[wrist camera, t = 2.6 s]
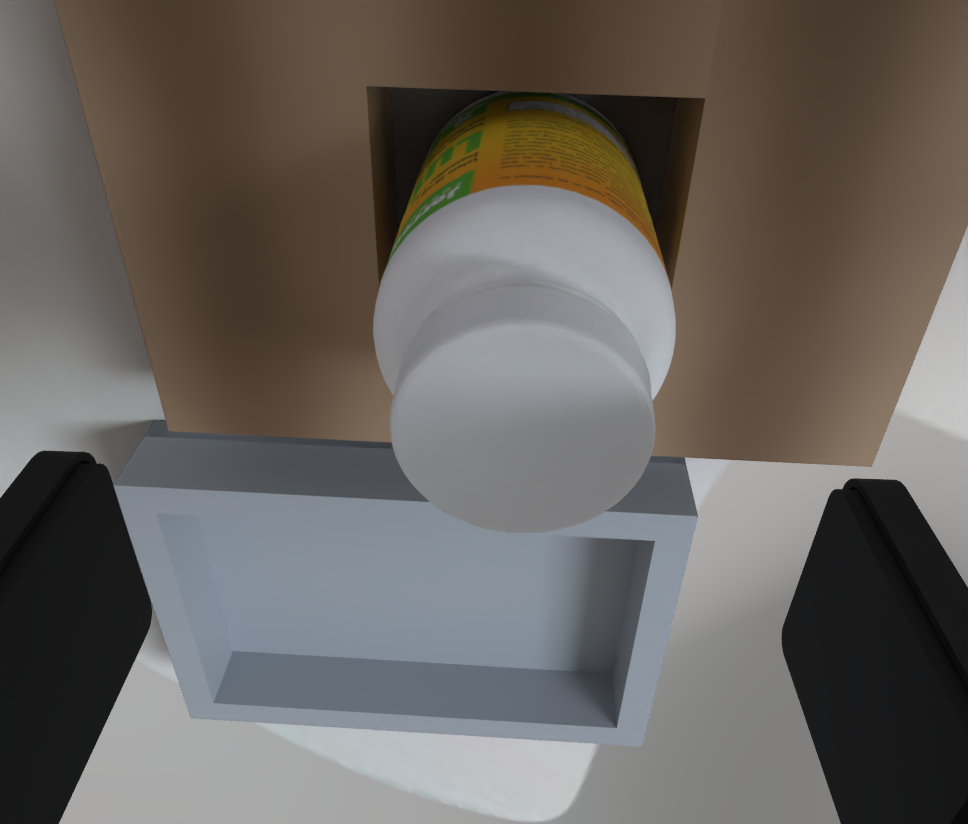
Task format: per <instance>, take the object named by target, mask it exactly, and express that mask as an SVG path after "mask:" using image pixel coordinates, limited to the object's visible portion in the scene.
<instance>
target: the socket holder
mask: <svg viewBox="0 0 968 824" xmlns="http://www.w3.org/2000/svg"><path fill="white" fill-rule="evenodd" d="M54 3H55V6H56V10H57V14H58V18H59V21H60V25H61V29H62V33H63V36H64V40H65V44H66V48H67V51H68V55H69V59H70V63H71V66H72V70H73V74H74V78H75V81H76V85H77V89H78V93H79V96H80V100H81V104H82V108H83V111H84V115H85V119H86V123H87V126H88V130H89V134H90V138H91V141H92V145H93V149H94V153H95V156H96V160H97V164H98V168H99V171H100V175H101V179H102V183H103V186H104V190H105V194H106V198H107V201H108V205H109V209H110V213H111V216H112V220H113V224H114V228H115V231H116V235H117V239H118V243H119V246H120V250H121V254H122V258H123V261H124V265H125V269H126V273H127V276H128V280H129V284H130V288H131V291H132V295H133V299H134V303H135V306H136V310H137V314H138V318H139V321H140V325H141V329H142V333H143V336H144V340H145V344H146V348H147V351H148V355H149V359H150V363H151V366H152V370H153V374H154V378H155V381H156V385H157V389H158V393H159V396H160V400H161V404H162V408H163V411H164V415H165V419H166V423H167V426H168V430H169V431H174V432H194V433H214V434H234V435H253V436H273V437H293V438H313V439H332V440H352V441H372V442H391V435H390V409H391V404H392V399H393V395H392V393H391V391H390V390H389V388H388V386H387V384H386V382H385V380H384V378H383V375H382V373H381V370H380V367H379V363H378V360H377V356H376V350H375V344H374V337H373V320H374V311H375V305H376V300H377V296H378V292H379V288H380V282H381V279H382V276H383V273H384V271H385V268H386V265H387V263H388V260H389V257H390V254H391V251H392V248H393V245H394V242H395V239H396V237H397V234H398V221H397V199H396V177H395V155H394V134H393V112H392V90H391V87H403V88H431V89H459V90H487V91H515V92H543V93H571V94H599V95H627V96H655V97H677V101H676V108H675V114H674V121H673V127H672V133H671V140H670V146H669V153H668V159H667V166H666V172H665V178H664V185H663V191H662V198H661V204H660V210H659V217H658V223H657V230H656V236H657V240H658V244H659V247H660V251H661V254H662V257H663V261H664V264H665V268H666V271H667V275H668V277H669V281H670V285H671V291H672V297H673V303H674V311H675V318H676V338H675V345H674V352H673V356H672V360H671V364H670V367H669V370H668V372H667V375H666V377H665V380H664V382H663V384H662V386H661V388H660V390H659V392H658V393H657V395H656V396H655V398H654V399H653V408H654V414H655V425H656V428H655V442H654V446H653V450H652V453H651V456H668V457H688V458H707V459H727V460H748V461H766V462H767V461H768V462H786V463H787V462H788V463H806V464H807V463H808V464H827V465H846V466H865V467H866V466H867V467H872V464H873V462H874V460H875V457H876V455H877V452H878V450H879V447H880V445H881V442H882V440H883V437H884V435H885V432H886V429H887V427H888V424H889V422H890V419H891V417H892V414H893V412H894V409H895V407H896V404H897V402H898V399H899V397H900V394H901V392H902V389H903V387H904V384H905V382H906V379H907V377H908V374H909V372H910V369H911V367H912V364H913V362H914V359H915V357H916V354H917V352H918V349H919V346H920V344H921V341H922V339H923V336H924V334H925V331H926V329H927V326H928V324H929V321H930V319H931V316H932V314H933V311H934V309H935V306H936V304H937V301H938V299H939V296H940V294H941V291H942V289H943V286H944V284H945V281H946V279H947V276H948V274H949V271H950V268H951V266H952V263H953V261H954V258H955V256H956V253H957V251H958V248H959V246H960V243H961V241H962V238H963V236H964V233H965V231H966V228H967V226H968V0H54Z"/></svg>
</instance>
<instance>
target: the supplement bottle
mask: <svg viewBox="0 0 968 824" xmlns="http://www.w3.org/2000/svg"><path fill="white" fill-rule="evenodd" d="M373 337H374V344H375V350H376V356H377V360H378V363H379V367H380V370H381V373H382V375H383V378H384V380H385V382H386V384H387V386H388V388H389V390H390V391H391V393H392V395H393V399H392V404H391V409H390V435H391V442H392V446H393V450H394V453H395V456H396V458H397V461H398V463H399V465H400V467H401V469H402V471H403V472H404V474H405V475H406V477H407V478H408V479H409V481H410V482H411V484H412V485H413V486H414V487H415V488H416V489H417V490H418V491H419V492H420V493H421V494H422V495H423V496H424V497H425V498H426V499H427V500H428V501H430V502H431V503H432V504H433V505H435V506H436V507H437V508H439V509H440V510H442V511H443V512H445V513H447V514H449V515H451V516H453V517H454V518H457V519H459V520H461V521H464V522H466V523H469V524H472V525H475V526H477V527H481V528H485V529H489V530H494V531H500V532H508V533H540V532H551V531H556V530H561V529H565V528H568V527H571V526H574V525H578V524H581V523H583V522H586V521H588V520H590V519H592V518H594V517H596V516H598V515H600V514H602V513H603V512H605V511H606V510H608V509H610V508H611V507H613V506H614V505H615V504H617V503H618V502H619V501H620V500H621V499H622V498H623V497H625V496H626V495H627V494H628V493H629V491H630V490H631V489H632V488H633V487H634V486H635V485H636V483H637V482H638V480H639V479H640V477H641V476H642V474H643V473H644V470H645V468H646V466H647V464H648V462H649V460H650V457H651V453H652V450H653V446H654V442H655V428H656V425H655V414H654V408H653V399H654V398H655V396H656V395H657V393H658V392H659V390H660V388H661V386H662V384H663V382H664V380H665V377H666V375H667V372H668V370H669V367H670V364H671V360H672V356H673V352H674V345H675V338H676V318H675V311H674V303H673V297H672V291H671V285H670V281H669V277H668V275H667V271H666V268H665V264H664V261H663V257H662V254H661V251H660V247H659V244H658V240H657V236H656V233H655V230H654V227H653V224H652V219H651V216H650V214H649V210H648V207H647V203H646V199H645V196H644V193H643V189H642V185H641V181H640V177H639V174H638V170H637V167H636V164H635V162H634V159H633V156H632V154H631V152H630V150H629V148H628V146H627V144H626V142H625V140H624V139H623V137H622V136H621V134H620V133H619V132H618V130H617V129H616V128H615V127H614V125H613V124H612V123H611V122H610V121H609V120H608V119H607V118H606V117H604V116H603V115H602V114H601V113H600V112H599V111H597V110H596V109H595V108H593V107H592V106H590V105H588V104H587V103H585V102H583V101H581V100H580V99H578V98H575V97H573V96H571V95H568V94H565V93H543V92H515V91H501V92H498V93H494V94H491V95H489V96H486V97H484V98H482V99H480V100H478V101H476V102H474V103H472V104H470V105H469V106H467V107H466V108H464V109H463V110H462V111H460V112H459V113H458V114H457V115H456V116H454V117H453V118H452V119H451V120H450V121H449V122H448V123H447V124H446V125H445V126H444V128H443V129H442V130H441V131H440V133H439V134H438V135H437V137H436V138H435V140H434V141H433V143H432V145H431V147H430V149H429V151H428V153H427V155H426V157H425V159H424V161H423V164H422V166H421V169H420V171H419V174H418V177H417V180H416V183H415V186H414V189H413V191H412V194H411V197H410V200H409V203H408V205H407V208H406V211H405V213H404V216H403V219H402V221H401V224H400V228H399V231H398V234H397V237H396V239H395V242H394V245H393V248H392V251H391V254H390V257H389V260H388V263H387V265H386V268H385V271H384V273H383V276H382V279H381V282H380V288H379V292H378V296H377V300H376V305H375V311H374V320H373Z"/></svg>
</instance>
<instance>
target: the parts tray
mask: <svg viewBox="0 0 968 824" xmlns="http://www.w3.org/2000/svg"><path fill="white" fill-rule="evenodd" d="M113 486H114V489H115V492H116V495H117V498H118V501H119V504H120V508H121V511H122V514H123V517H124V520H125V523H126V526H127V529H128V533H129V536H130V539H131V542H132V545H133V548H134V551H135V554H136V557H137V559H138V562H139V565H140V568H141V571H142V574H143V577H144V580H145V583H146V586H147V589H148V592H149V595H150V598H151V601H152V604H153V607H154V610H155V613H156V616H157V619H158V622H159V625H160V628H161V631H162V634H163V637H164V640H165V643H166V646H167V649H168V652H169V655H170V658H171V661H172V664H173V667H174V670H175V673H176V676H177V679H178V682H179V685H180V687H181V691H182V693H183V696H184V700H185V703H186V706H187V709H188V712H189V714H190V717H191V718H197V719H212V720H228V721H244V722H260V723H276V724H291V725H307V726H323V727H339V728H355V729H371V730H387V731H403V732H419V733H435V734H451V735H467V736H483V737H499V738H515V739H531V740H546V741H562V742H578V743H594V744H611V745H626V746H642V745H643V741H644V736H645V732H646V728H647V724H648V720H649V716H650V712H651V708H652V703H653V699H654V695H655V691H656V687H657V683H658V678H659V675H660V670H661V666H662V662H663V658H664V654H665V650H666V645H667V642H668V637H669V633H670V629H671V625H672V621H673V617H674V612H675V608H676V604H677V600H678V596H679V592H680V588H681V584H682V580H683V576H684V571H685V567H686V563H687V559H688V555H689V551H690V547H691V542H692V539H693V534H694V530H695V526H696V522H697V518H698V515H697V510H696V506H695V502H694V497H693V493H692V489H691V484H690V480H689V476H688V471H687V467H686V463H685V458H684V457H668V456H651V457H650V460H649V462H648V464H647V466H646V468H645V470H644V473H643V474H642V476H641V477H640V479H639V480H638V482H637V483H636V485H635V486H634V487H633V488H632V489H631V490H630V491H629V493H628V494H627V495H626V496H625V497H623V498H622V499H621V500H620V501H619V502H618V503H617V504H615V505H614V506H613V507H611V508H610V509H608V510H606V511H605V512H603V513H602V514H600V515H598V516H596V517H594V518H592V519H590V520H588V521H586V522H583V523H581V524H578V525H574V526H571V527H568V528H565V529H561V530H556V531H551V532H540V533H508V532H500V531H494V530H489V529H485V528H481V527H477V526H475V525H472V524H469V523H466V522H464V521H461V520H459V519H457V518H454V517H453V516H451V515H449V514H447V513H445V512H443V511H442V510H440V509H439V508H437V507H436V506H435V505H433V504H432V503H431V502H430V501H428V500H427V499H426V498H425V497H424V496H423V495H422V494H421V493H420V492H419V491H418V490H417V489H416V488H415V487H414V486H413V485H412V484H411V482H410V481H409V479H408V478H407V477H406V475H405V474H404V472H403V471H402V469H401V467H400V465H399V463H398V461H397V458H396V456H395V453H394V450H393V446H392V442H372V441H352V440H332V439H313V438H293V437H273V436H253V435H234V434H214V433H194V432H174V431H169V430H168V426H167V423H166V421H157V420H155V421H154V422H153V424H152V426H151V427H150V429H149V430H148V432H147V433H146V435H145V436H144V438H143V439H142V441H141V442H140V444H139V446H138V447H137V449H136V450H135V452H134V453H133V455H132V456H131V458H130V459H129V461H128V462H127V464H126V465H125V467H124V469H123V470H122V472H121V473H120V475H119V476H118V478H117V479H116V481H115V482H114V484H113Z"/></svg>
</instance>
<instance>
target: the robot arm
mask: <svg viewBox="0 0 968 824" xmlns="http://www.w3.org/2000/svg"><path fill="white" fill-rule="evenodd" d="M151 618H152V606H151V601H150V598H149V595H148V592H147V589H146V586H145V583H144V579H143V576H142V573H141V570H140V567H139V564H138V561H137V558H136V554H135V551H134V548H133V545H132V542H131V539H130V536H129V533H128V529H127V526H126V523H125V520H124V517H123V514H122V511H121V508H120V504H119V501H118V498H117V495H116V492H115V489H114V486H113V483H112V479H111V476H110V473H109V471H108V469H107V467H106V466H105V465H103V464H97V463H96V461H95V459H94V457H93V456H92V455H91V454H90V453H86V452H65V451H41V452H38V453H37V454H36V455H35V456H34V457H33V458H32V459H31V460H30V461H29V462H28V464H27V465H26V466H25V468H24V469H23V470H22V471H21V473H20V474H19V475H18V476H17V478H16V479H15V480H14V481H13V483H12V484H11V485H10V487H9V488H8V489H7V490H6V492H5V493H4V494H3V495H2V497H1V498H0V824H59V822H60V820H61V817H62V815H63V813H64V811H65V809H66V807H67V805H68V802H69V800H70V798H71V796H72V794H73V792H74V790H75V787H76V785H77V783H78V781H79V779H80V777H81V775H82V772H83V770H84V768H85V766H86V764H87V762H88V760H89V757H90V755H91V753H92V751H93V749H94V747H95V745H96V742H97V740H98V738H99V736H100V734H101V732H102V729H103V727H104V725H105V723H106V721H107V719H108V717H109V715H110V712H111V710H112V708H113V706H114V703H115V702H116V699H117V697H118V695H119V693H120V691H121V688H122V687H123V684H124V682H125V680H126V678H127V676H128V674H129V671H130V669H131V667H132V665H133V663H134V661H135V659H136V657H137V654H138V652H139V650H140V648H141V646H142V644H143V642H144V639H145V637H146V635H147V633H148V630H149V628H150V624H151ZM782 648H783V653H784V657H785V660H786V663H787V666H788V668H789V672H790V674H791V677H792V680H793V683H794V686H795V689H796V692H797V695H798V698H799V701H800V704H801V707H802V710H803V713H804V716H805V719H806V722H807V725H808V728H809V730H810V733H811V737H812V739H813V742H814V745H815V748H816V751H817V754H818V757H819V760H820V763H821V766H822V769H823V772H824V775H825V778H826V781H827V784H828V787H829V790H830V793H831V796H832V799H833V801H834V804H835V807H836V810H837V813H838V816H839V819H840V822H841V824H968V587H967V586H966V584H965V582H964V581H963V579H962V578H961V576H960V574H959V573H958V571H957V570H956V568H955V566H954V565H953V563H952V561H951V560H950V558H949V556H948V555H947V553H946V552H945V550H944V548H943V547H942V545H941V544H940V542H939V541H938V539H937V537H936V535H935V534H934V532H933V531H932V530H931V527H930V526H929V524H928V523H927V521H926V520H925V518H924V516H923V514H922V513H921V512H920V510H919V508H918V506H917V505H916V503H915V502H914V500H913V498H912V497H911V495H910V493H909V492H908V490H907V489H906V487H905V486H904V485H903V484H902V483H901V482H899V481H897V480H883V479H881V480H880V479H850V480H848V481H847V482H846V483H845V485H844V487H843V489H836V490H833V491H832V492H831V494H830V496H829V498H828V501H827V504H826V506H825V509H824V512H823V515H822V518H821V521H820V524H819V526H818V529H817V532H816V535H815V537H814V540H813V543H812V546H811V549H810V551H809V555H808V557H807V560H806V563H805V566H804V568H803V571H802V574H801V577H800V580H799V583H798V585H797V588H796V591H795V594H794V597H793V600H792V602H791V605H790V608H789V611H788V614H787V616H786V619H785V622H784V625H783V629H782Z"/></svg>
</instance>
